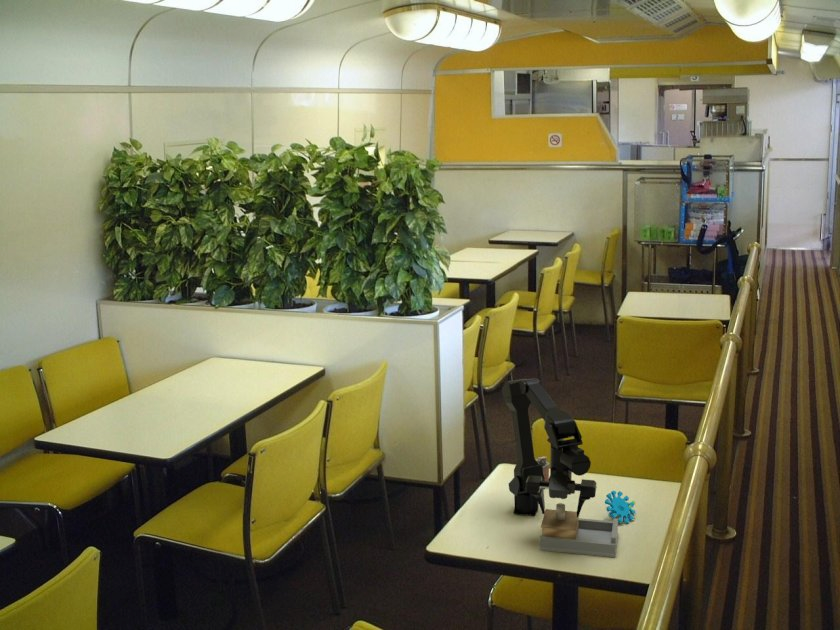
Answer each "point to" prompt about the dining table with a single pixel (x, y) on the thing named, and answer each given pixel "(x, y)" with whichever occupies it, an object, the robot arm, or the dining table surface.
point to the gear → (620, 507)
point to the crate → (560, 523)
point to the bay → (587, 539)
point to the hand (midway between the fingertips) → (560, 515)
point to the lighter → (544, 467)
